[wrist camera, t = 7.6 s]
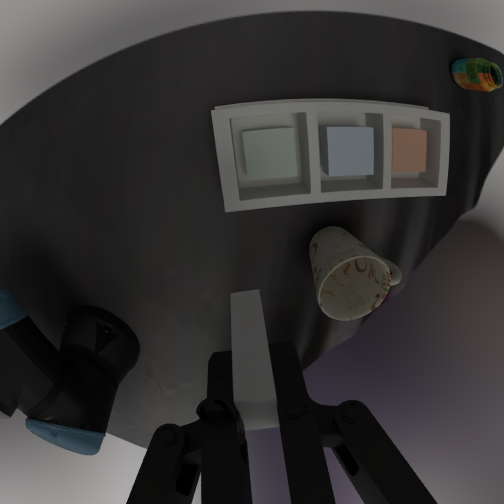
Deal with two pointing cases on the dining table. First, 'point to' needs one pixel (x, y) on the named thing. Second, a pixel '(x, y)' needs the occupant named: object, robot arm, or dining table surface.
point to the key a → (270, 153)
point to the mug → (348, 274)
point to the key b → (347, 150)
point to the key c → (408, 149)
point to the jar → (477, 74)
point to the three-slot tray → (310, 156)
